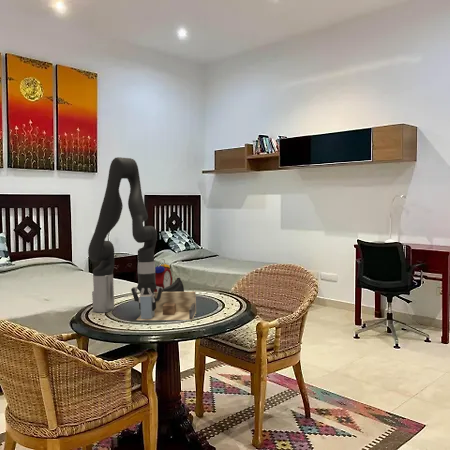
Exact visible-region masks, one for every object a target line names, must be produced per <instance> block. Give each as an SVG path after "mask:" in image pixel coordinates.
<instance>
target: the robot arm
mask: <svg viewBox="0 0 450 450" xmlns="http://www.w3.org/2000/svg"><path fill="white" fill-rule="evenodd" d="M139 172H140V171H139V167H138V164H137V162H136V160H135V159H134V158H131V157H130V158H129V157H114V158H113V159H112V160H111V162H110V166H109V170H108V177H107V182H106V183H107V184H106V187H105V193H104V196H103V200H102V204H101V207H100V211H99V216H98V220H97V222H96V226H95V229H94V231H93V234H92V237H91V240H90V241H89V242H90V243H89V244H88V249H87V250H88V251H87V254H88V258H89V260H91V261H92V262H100V263H99V265H97V266H96V267H94V269H93V270H92V277H93V278H92V279H93V280H92V282H93V283H92V284H93V291H92V294H91V296H92V297H91V299H92V312H93V313H109V312H110V313H111V312H112V311H113V310H114V309H115V293H114V291H115V290H114V289H115V288H114V269H115V247H114V244H113V243H112V242H111V241H110V240H106V238H107V237H108V235H109V234H110V232H111V231H112V230H113V228H114V227H116V225H117V224H118V222H119V220H120V218H121V215H122V212H123V207H124V206H123V200H122V197H121V195H120V185H121V182H122V179H124V180H125V179H126V180H127V181H128V183H129V188H130V190H129V196H128V199H127V200H128V201H127V205H128V206H127V208H128V211H129V213H130V214H129V215H130V218H131V228H132V230H131V231H132V237H133V239H134V241H136V242H137V243H139V244H142V243H143V245H142V247H141V248H138V250H137V286H135V287H134V286H133V287H132V288H131V293H132V294H131V295H132V298H133V300H134V302H137V303H138V306H139V307H138V309H139V310H140V311H141V306H140V297H139V296H140V295H152V296H151V297H152V311H154V310H155V309H156V301H159V300H160V298H161V294H162V290H163V287H158V286H157V285H156V280H155V267H156V265H155V249H156V243H157V240H158V232H157V229H156V228H155V227H154V226H153V225H144V222H146V221H147V220H148V219H149V215H148V211H147V208H146V205H145V201H144V198H143V193H142V187H141V178H140V173H139ZM155 289H157V292H158V295H157V298H155V294H154V291H155ZM138 291H139V293H140V295H138Z"/></svg>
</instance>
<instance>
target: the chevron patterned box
mask: <svg viewBox="0 0 450 450" xmlns="http://www.w3.org/2000/svg"><path fill="white" fill-rule="evenodd" d="M196 293H197V292H196V291H184V292H162V294H161V298H160V300H159V301H156V309H155V315H154V316H153V317H152V319H141V314H140V315H139V316H138V317H137V318H136V319H135V321H190V322H191V323H192V322H193V321H194V319H193V318H195V317H194V316H196V315H195V314H197V300H196V299H197V297H196V296H197V294H196ZM154 294H155V298H157V295H158V292H154ZM192 320H193V321H192Z"/></svg>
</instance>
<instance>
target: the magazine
mask: <svg viewBox="0 0 450 450" xmlns="http://www.w3.org/2000/svg"><path fill="white" fill-rule="evenodd" d="M181 279H182V278H181V277H176V279H175V280H174V281H173V282H172V285H170V286H169V287H166V288H163V290H162V292H185V289H184V284H183V283H184V282H183V281H182V280H181Z"/></svg>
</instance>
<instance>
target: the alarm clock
mask: <svg viewBox="0 0 450 450" xmlns="http://www.w3.org/2000/svg"><path fill="white" fill-rule="evenodd" d="M162 260H163V263H162V264H161V261H162ZM155 280H156V285H157V286H158V287H163V288H166V287H169V286H170V285H172V284H173V276H172V271H171V267H170V265H169V264H168V263H166V260H165V259H164V258H161V259H160V260H159V262H158V265H156V266H155ZM154 292H157V289H155V291H154Z"/></svg>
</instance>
